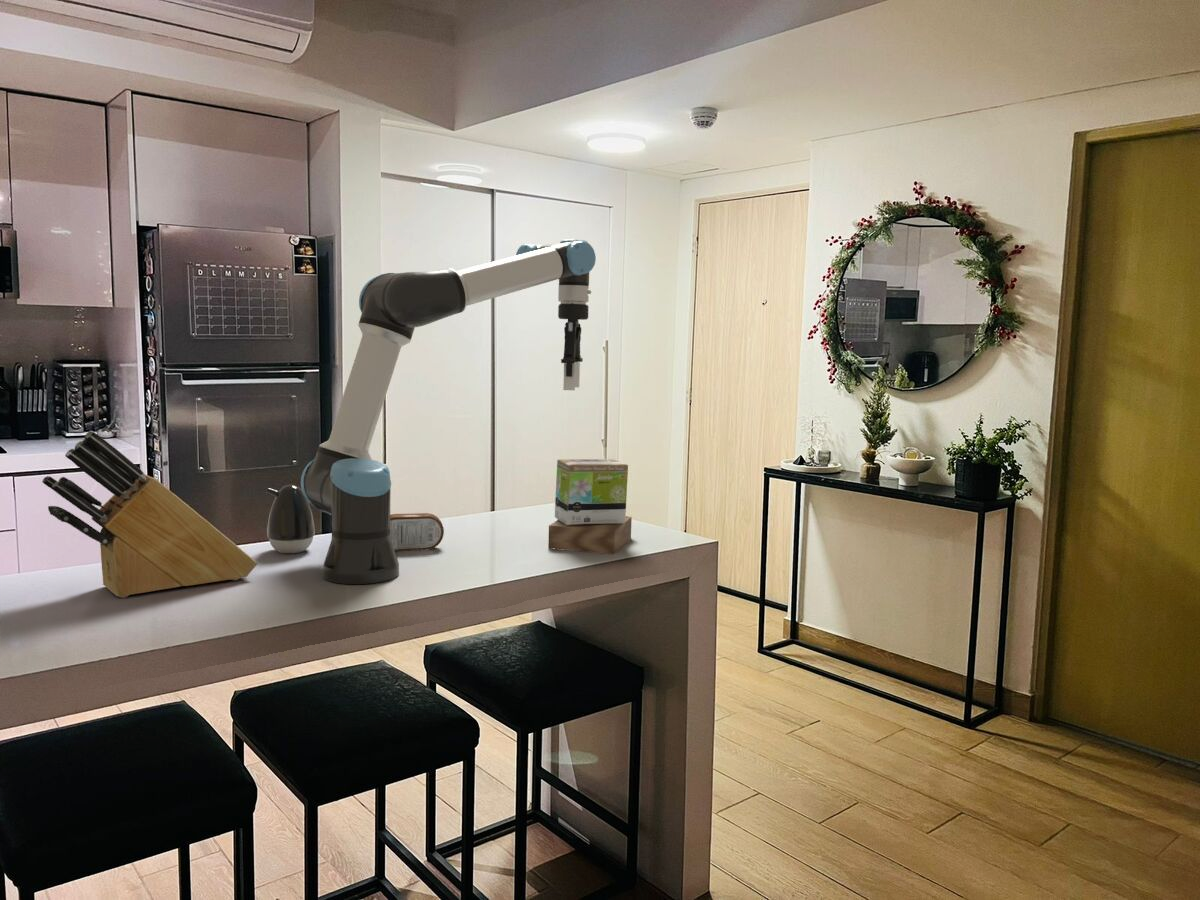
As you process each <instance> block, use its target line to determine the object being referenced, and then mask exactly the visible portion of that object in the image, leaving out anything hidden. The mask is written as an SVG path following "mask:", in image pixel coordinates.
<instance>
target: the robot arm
mask: <svg viewBox="0 0 1200 900" xmlns="http://www.w3.org/2000/svg"><path fill="white" fill-rule="evenodd" d="M596 258H597V257H596V252H595V250H594V247H593V246H592V245H591V244H590V243H589V242H588V241H587V240H584V239H574V238H573V239H572V238H571V239H569V238H568V239H567V238H566V239H562V240H560V242H559V243H558V242H557V243H547V244H535V243H530V244H529V243H524V244H521V245H520V246H519V248H518V249H517V250H516V254H515V255H514V256H510V257H506V258H503V259H499V260H494V261H492V262H491V261H490V262H487V263H483V264H480V265H476V266H471V267H468V268H464V269H460V270H455V269H454V268H452V267H449V268H448V267H447V268H445V269H441V270H439V269H438V270H435V271H434V270H432V271H406V272H397V273H396V272H386V273H381V274H379V275H377V276H375V277H373V278H371V279H370V280H368V281H367V282H366V283H365V285H364V286H363V287H362V289H361V291H360V294H359V298H358V307H359V310H360V312H361V314H360V318H359V321H358V324H357V325H358V327H359V330H360V332H361V339H360V342H359V344H358V348H357V351H356V354H355V358H354V359H353V363H352V365H351V370H350V372H349V376H348V380H347V382H346V385H345V388H344V392H343V395H342V399H341V401H340V404H339V407H338V410H337V414H336V417H335V420H334V423H333V425H332V428H331V429H332V430H331V432H330V435H329V438H328V439H327V441H324V442H323V443H320V444H319V446H318V449H317V452H316V455H315V457H314V459H313V460H311V461H310V462H308V464H307V465H306V466H305V467H304V469H303V471H302V474H301V478H300V489H301V490H302V492H303V495H304V497H305V498H306V500H307V501H308V503H309V505H310V504H311V506H312V507H313V508H315V509H316V510H318V511H319V512H321V513H326V514H329V515H331V541H330V543H329V547H328V550H327V553H326V555H325V559H324V562H323V566H322V576H323V577H322V578H324V579H325V581H329V582H332V583H336V584H337V583H338V584H343V585H344V584H345V585H365V584H376V583H383V582H387V581H390V580H393V579H395V578H396V577H398V576H399V575H400V563H399V559H398V557H397V554H396V551H395V550H394V547H393V544H392V541H391V538H390V515H391V490H392V489H391V487H392V480H391V471H390V468H389V467H388V465H386V464H385V463H383V462H382V461H378V460H375V459H372V457H371V455H370V453H369V449H370V446H371V443H372V440H373V437H374V434H375V431H376V427H377V424H378V421H379V418H380V415H381V412H382V408H383V405H384V402H385V399H386V395H387V393H388V390H389V387H390V383H391V380H392V379H393V378H392V377H393V374H394V371H395V368H396V364H397V361H398V360H399V359H398V358H399V355H400V352H401V349H402V347H404V346H406V345H407V344H410V343H411V342H412V341H411V340H412V337H413V335H414V332H415V328H419V327H423V326H427V325H430V324H433V323H434V322H437V321H439V320H443V319H446V318H448V317H451V316H453V315H457V314H460V313H463V312H465V310H466V308H467V306H472V305H474V304H478V303H481V302H484V301H487V300H491V299H495V298H499V297H502V296H505V295H508V294H513V293H516V292H519V291H523V290H526V289H529V288H533V287H536V286H541V285H542V284H546V283H550V282H553V281H557V280H558V291H557V293H558V296H557V297H558V299H557V301H558V302H560V304H558V309H557V310H558V311H557V313H558V315H557V317H558V319H560V320H567V321H566V322H565V324H564V325H565V326H564V328H563V329H564V330H563V331H564V348H563V358H561V359H560V363H561V364H563V391H576V390H575V389H576V388H580V373H581V372H580V371H581V370H580V369H581V368H580V367H581V363H582V362H583V357H582V356H581V340H582V339H581V337H582V336H581V335H582V327H581V323H580V322H579V320H581V321H582V320H584V321H585V320H589V308H590V307H589V305H588V304H587V303H588V302H589V295H591V294H592V290H591V289H590V287H589V286H590V272H591V271H592V270H593V268H594V267H595V265H596Z"/></svg>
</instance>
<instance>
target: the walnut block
mask: <svg viewBox="0 0 1200 900" xmlns="http://www.w3.org/2000/svg"><path fill="white" fill-rule="evenodd" d="M632 519H633V518H632V516H629V515H628V516H626V515H625V523H624V524H576V525H566V524H564V523H562V522H561V521H559V520H558V519H557V520H556V521H553V522H552V523H551V524H548V543H547V544H548V546H547V547H548V548H555V549H554V550H560V549H564V550H563V551H571V550H574V551H573V552H583V551H584V552H585V553H594V552H595V553H597V554H608V555H615V554H616V553H617V552H618V551H619V550H621V548H623V546H624V545H626V544H627V541H628V542H629V541H630V540H631V539H632ZM629 539H630V540H629ZM625 543H626V544H625Z"/></svg>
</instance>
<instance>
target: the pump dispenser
mask: <svg viewBox="0 0 1200 900" xmlns="http://www.w3.org/2000/svg"><path fill="white" fill-rule="evenodd" d="M265 492H266V494H269V495H272V496H274V497H275V498H274V500H273V503H272V505H271V508H270V511H269V516H268V522H267V529H266V530H267V531H266V536H267V538H268V541H269V543H270V545H271V546H272V548H273V549H274V550H275V551H277V552H279V553H280V552H281V553H280V554H286V553H292V554H299V553H302V552H304V551H305V550H307V549H309V547H310V546H311V545H312V542H313V540H314V536H315V533H316V532H315V531H316V530H315V529H316V528H315V523H314V517H313V512H312V509H311V507H310V503H309V502H308V501H307V500H306V498H305V497H304V495H303V492H302V489H301V487H299V486H297V485H295V484H287V485H284V486H282V487H281V488H280V489H279V490H276V489H273V488H271V487H267V488H266V490H265Z"/></svg>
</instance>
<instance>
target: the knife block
mask: <svg viewBox="0 0 1200 900" xmlns="http://www.w3.org/2000/svg"><path fill="white" fill-rule="evenodd" d="M64 456H65V458H67V459H69V460H70V461H71V462H73V464H74V465H75V466H76V467H78V468H79V469H80V470H81V471H82V472H83V473H85V474H86V475H87V476H89V477H90V478H92V479H93V480H94V481H96V482H97V483H99V484H100V485H101V486H102V487H104V489H106V490H107V491H109V492H110V493H112V496H111V497H110V498H109V499H108V500H106V502H105V503H104V504H103V503H102V501H100V500H98V499H97V498H95V497H94V496H92V494H90V492H89V493H88V492H87V491H86V490H84V489H83V488H82V487H80V486H79V485H78V484H77V483H75V482H74V481H72V480H71V479H68V478H67V477H64V476H62V477H59V480H56V479H55V478H53V477H52V476H49V475H47V476H44V478H43V479H42V483H43V484H44V485H45V486H46V487H47V488H50V490H53V491H54V492H55V493H56V494H58V495H59V496H60V497H62V498H63V499H65V500H66V501H67V502H69V503H71V504H72V505H73V506H74V507H76V508H77V509H78V510H80V511H82V512H83V513H86V514H88V516H91V520H92V521H93V522H94V523H96V524H97V525H98V526H100V527H101V530H100V531H98V530H97V529H96V528H94V527H92V525H90V524H88V523H87V522H85V521H84V520H82V519H81V518H79V517H78V516H76V515H74V514H73V513H71V512H70V511H68V510H66V509H65V508H63V507H61V506H60V507H59V506H58V505H57V506H56V505H48V507H47V508H48V512H49V514H50V515H51V516H53V517H54V518H56V519H57V520H58V521H60V522H62V523H66V524H69V525H70V526H71V527H73V528H75V529H76V530H78V531H79V532H81V533H82V534H84V535H85V536H87V537H89V538H90V539H92V540H95V541H96V542H98V543H99V544H100V546H99V547H100V558H101V559H100V560H101V573H102V585H103V586H105V588H107V589H108V590H109V591H110V592H111V593H113V594H114V595H115V596H116V597H119V598H128V597H129V596H131V595H137V594H143V593H149V592H155V591H160V590H168V589H173V588H178V587H179V588H180V587H184V586H185V587H187V586H188V587H189V586H195V585H203V584H208V583H214V582H215V583H216V582H221V581H222V582H223V581H228V580H231V581H238V580H240V578H241V579H242V578H247V577H248V576H249V574H250V573H251V572H252V571H253V570H254V569H255V567H256V566H257V564H258V563H257V561H256V560H255V559H253V558H252V557H251V556H250V555H249V554H247V553H246V552H245V551H244V550H242V549H241V548H240V547H239V546H237V544H236V543H234V542H233V541H232V540H230V539H229V538H228V537H227V536H226V535H225V534H223V533H222V532H221V531H220V530H218V529H217V528H216V527H215V526H214V525H212V523H210V522H209V521H208V520H207V519H205V518H204V517H203V516H201V515H200V514H199V513H198V512H197V511H195V510H194V509H193V508H192V507H190V505H189V504H187V503H186V502H184V501H183V500H182V499H181V498H180V497H179V496H177V495H176V494H175V493H174V492H172V491H171V490H170V489H169V488H167V487H166V486H165V485H164V484H162V483H161V482H160V481H159V480H157V478H155V477H152V476H150V475H147V474H145V473H144V472H143V470H141V468H140V467H139V466H137V465H136V464H135V463H134V462H132V461H131V460H130V459H129V458H127V456H125V455H124V454H123V453H122V452H120V451H119V450H118V449H117V448H116V447H114V445H112V444H111V443H109V442H107V441H106V440H105V439H104V438H103V437H101V436H100V435H98V433H96V432H95V431H93V430H89V431H88V432H87V433H86V434H85V435H84V439H83V440H79V442H77V443H76V444H75V445H74V448H70V449H69V450H67V452H66V453H65V455H64ZM102 504H103V505H102ZM96 506H98V507H100V508H98V507H96Z"/></svg>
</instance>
